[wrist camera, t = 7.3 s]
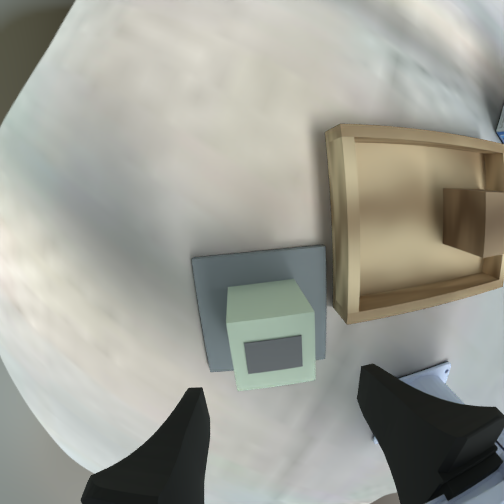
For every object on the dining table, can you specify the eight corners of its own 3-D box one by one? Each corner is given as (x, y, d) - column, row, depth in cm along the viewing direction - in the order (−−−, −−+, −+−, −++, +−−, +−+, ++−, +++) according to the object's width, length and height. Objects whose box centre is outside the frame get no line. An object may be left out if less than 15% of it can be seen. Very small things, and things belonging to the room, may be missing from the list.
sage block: (293, 278, 20) (315, 312, 14) (297, 336, 21) (315, 380, 15) (227, 286, 20) (226, 323, 14) (236, 344, 21) (237, 392, 15)
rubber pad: (323, 354, 22) (325, 358, 22) (210, 367, 22) (210, 372, 21) (322, 244, 20) (325, 246, 20) (192, 257, 20) (191, 259, 19)
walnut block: (479, 239, 20) (517, 251, 15) (442, 243, 20) (483, 258, 15) (480, 189, 19) (520, 193, 14) (442, 188, 19) (485, 191, 14)
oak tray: (482, 277, 22) (502, 286, 19) (332, 306, 21) (347, 324, 18) (484, 146, 19) (506, 145, 16) (324, 132, 18) (340, 123, 15)
